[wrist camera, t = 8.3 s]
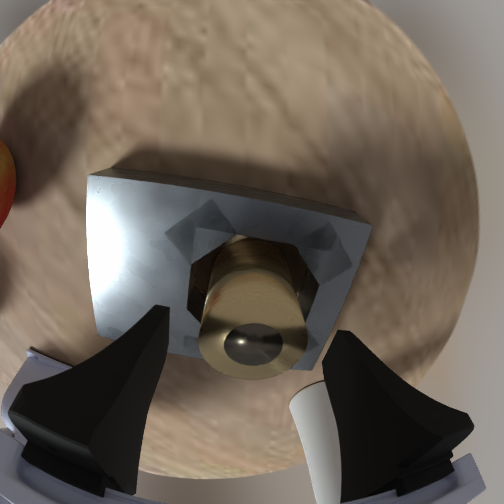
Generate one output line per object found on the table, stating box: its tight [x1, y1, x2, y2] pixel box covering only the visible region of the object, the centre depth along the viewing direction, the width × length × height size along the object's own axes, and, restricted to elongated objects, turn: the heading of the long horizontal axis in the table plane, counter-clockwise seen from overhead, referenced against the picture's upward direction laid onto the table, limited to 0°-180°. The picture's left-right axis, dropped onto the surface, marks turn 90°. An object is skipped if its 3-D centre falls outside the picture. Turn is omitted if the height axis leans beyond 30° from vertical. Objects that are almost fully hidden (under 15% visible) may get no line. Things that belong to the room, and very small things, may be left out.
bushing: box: [198, 240, 308, 380], centre depth 13 cm, size 4×4×6 cm
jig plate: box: [87, 168, 373, 370], centre depth 15 cm, size 14×10×2 cm
